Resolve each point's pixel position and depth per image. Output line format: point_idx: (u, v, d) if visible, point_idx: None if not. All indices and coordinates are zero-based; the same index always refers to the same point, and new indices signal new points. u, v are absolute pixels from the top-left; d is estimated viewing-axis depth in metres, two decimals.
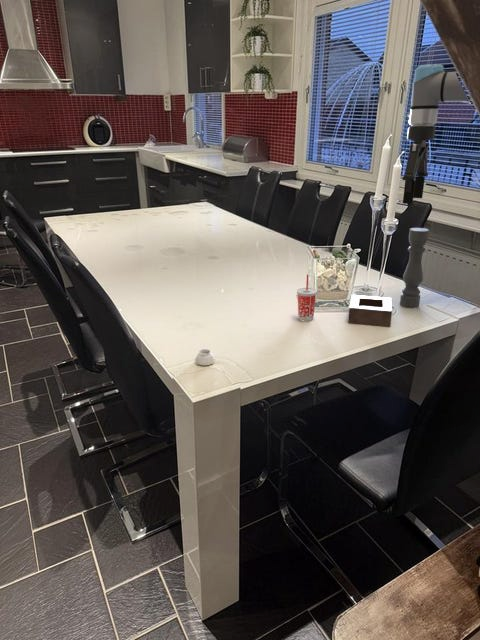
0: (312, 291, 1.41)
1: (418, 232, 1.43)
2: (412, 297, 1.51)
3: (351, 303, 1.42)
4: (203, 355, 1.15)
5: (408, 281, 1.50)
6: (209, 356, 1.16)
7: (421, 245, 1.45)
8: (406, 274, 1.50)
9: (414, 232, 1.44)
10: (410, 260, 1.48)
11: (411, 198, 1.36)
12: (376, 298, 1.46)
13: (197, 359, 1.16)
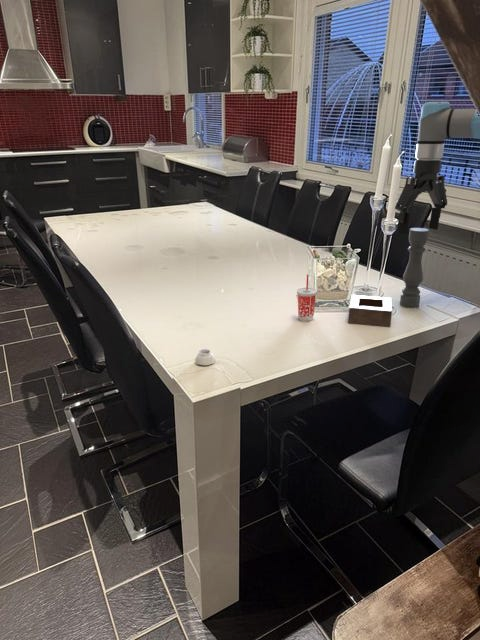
0: (312, 291, 1.41)
1: (418, 232, 1.43)
2: (412, 297, 1.51)
3: (351, 303, 1.42)
4: (203, 355, 1.15)
5: (408, 281, 1.50)
6: (209, 356, 1.16)
7: (421, 245, 1.45)
8: (406, 274, 1.50)
9: (414, 232, 1.44)
10: (410, 260, 1.48)
11: (404, 229, 1.41)
12: (376, 298, 1.46)
13: (197, 359, 1.16)
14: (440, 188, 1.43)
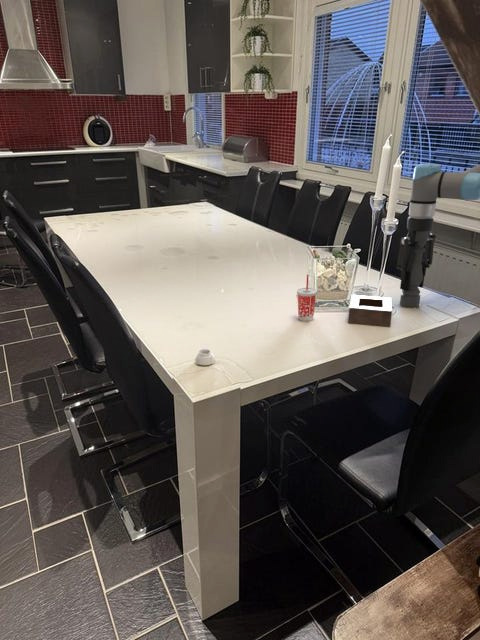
0: (312, 291, 1.41)
1: (418, 232, 1.43)
2: (412, 297, 1.51)
3: (351, 303, 1.42)
4: (203, 355, 1.15)
5: None
6: (209, 356, 1.16)
7: (421, 245, 1.45)
8: None
9: None
10: None
11: (406, 286, 1.49)
12: (376, 298, 1.46)
13: (197, 359, 1.16)
14: (429, 246, 1.49)
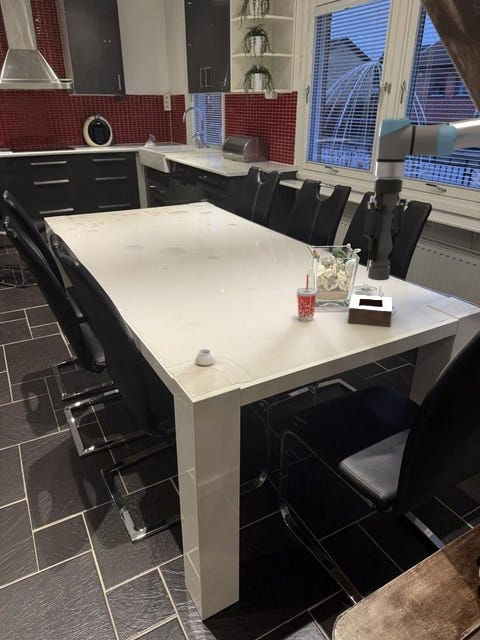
0: (312, 291, 1.41)
1: (385, 195, 1.29)
2: (381, 268, 1.37)
3: (351, 303, 1.42)
4: (203, 355, 1.15)
5: None
6: (209, 356, 1.16)
7: (390, 210, 1.32)
8: None
9: None
10: None
11: (373, 256, 1.36)
12: (376, 298, 1.46)
13: (197, 359, 1.16)
14: (399, 212, 1.36)
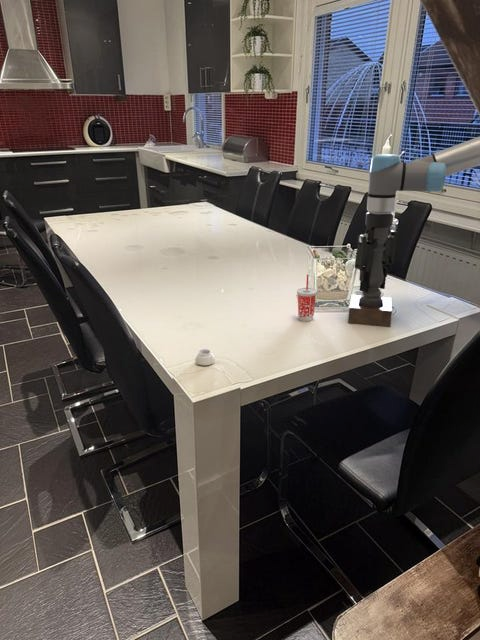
0: (312, 291, 1.41)
1: (376, 229, 1.32)
2: (372, 299, 1.39)
3: (351, 303, 1.42)
4: (203, 355, 1.15)
5: None
6: (209, 356, 1.16)
7: (381, 243, 1.34)
8: None
9: None
10: None
11: (365, 287, 1.38)
12: None
13: (197, 359, 1.16)
14: (391, 244, 1.38)
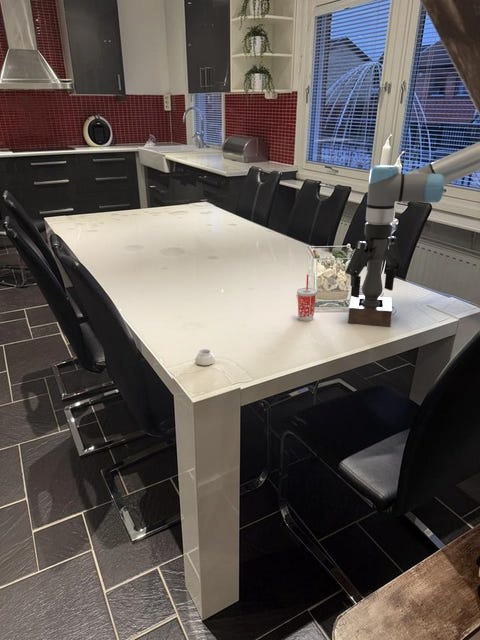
0: (312, 291, 1.41)
1: (375, 240, 1.33)
2: None
3: (351, 303, 1.42)
4: (203, 355, 1.15)
5: (367, 293, 1.39)
6: (209, 356, 1.16)
7: (380, 255, 1.35)
8: (364, 285, 1.39)
9: None
10: (368, 270, 1.38)
11: (356, 292, 1.37)
12: None
13: (197, 359, 1.16)
14: (393, 249, 1.39)
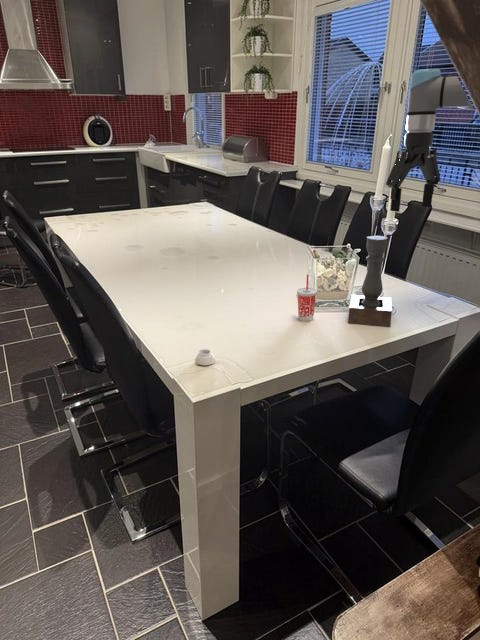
0: (312, 291, 1.41)
1: (375, 240, 1.33)
2: None
3: (351, 303, 1.42)
4: (203, 355, 1.15)
5: (367, 293, 1.39)
6: (209, 356, 1.16)
7: (380, 255, 1.35)
8: (364, 285, 1.39)
9: (371, 240, 1.34)
10: (368, 270, 1.38)
11: (397, 206, 1.34)
12: None
13: (197, 359, 1.16)
14: (432, 163, 1.36)
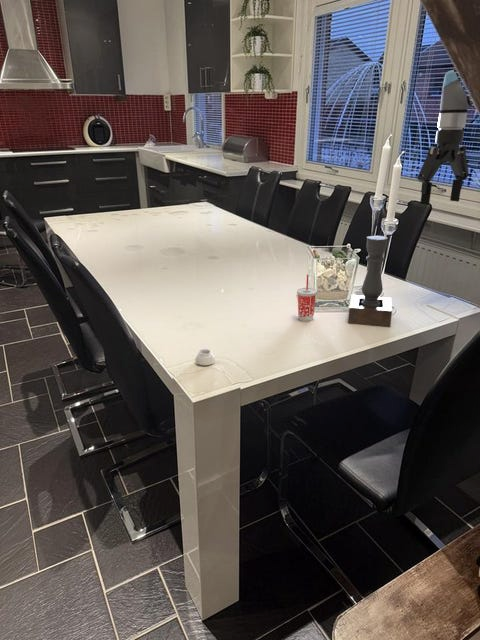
0: (312, 291, 1.41)
1: (375, 240, 1.33)
2: None
3: (351, 303, 1.42)
4: (203, 355, 1.15)
5: (367, 293, 1.39)
6: (209, 356, 1.16)
7: (380, 255, 1.35)
8: (364, 285, 1.39)
9: (371, 240, 1.34)
10: (368, 270, 1.38)
11: (427, 199, 1.41)
12: None
13: (197, 359, 1.16)
14: (462, 159, 1.43)
